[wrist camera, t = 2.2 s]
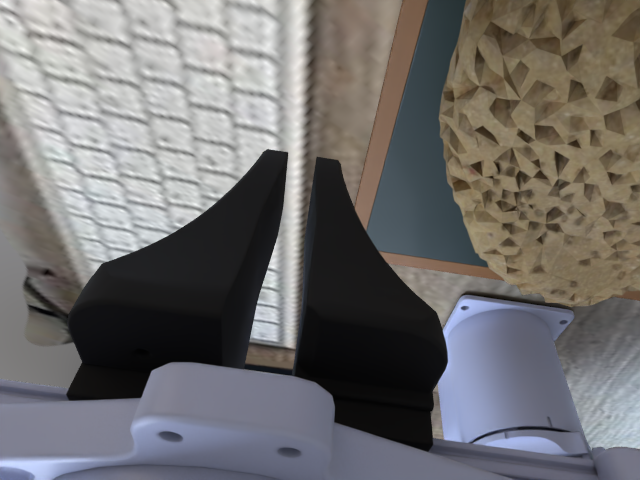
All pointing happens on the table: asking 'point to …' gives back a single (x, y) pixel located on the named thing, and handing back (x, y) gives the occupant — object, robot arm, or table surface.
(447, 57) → the chalkboard
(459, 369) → the robot arm
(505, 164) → the sponge
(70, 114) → the table surface
